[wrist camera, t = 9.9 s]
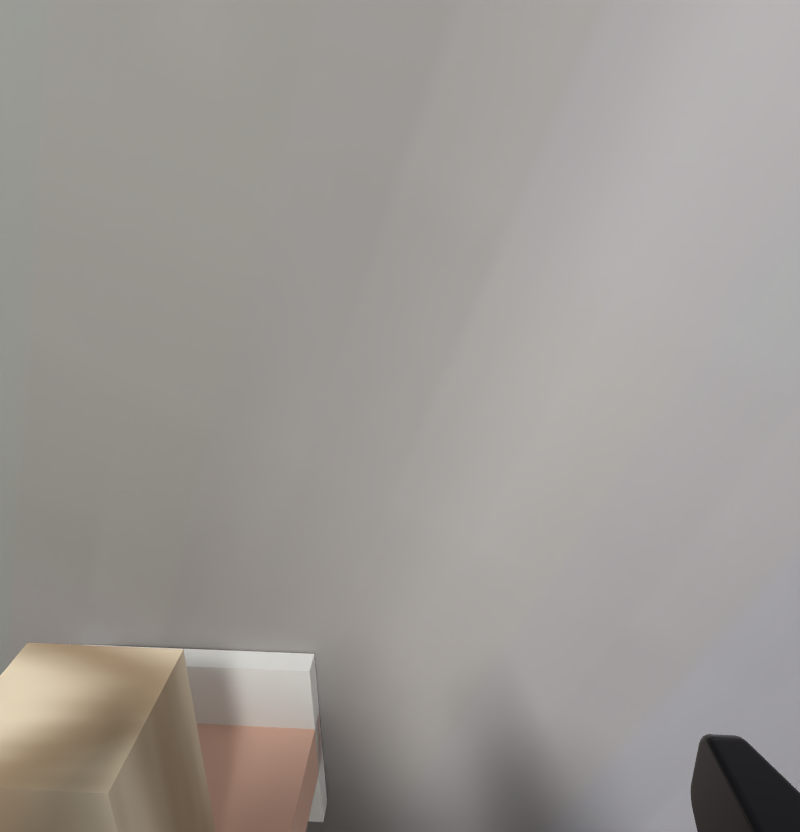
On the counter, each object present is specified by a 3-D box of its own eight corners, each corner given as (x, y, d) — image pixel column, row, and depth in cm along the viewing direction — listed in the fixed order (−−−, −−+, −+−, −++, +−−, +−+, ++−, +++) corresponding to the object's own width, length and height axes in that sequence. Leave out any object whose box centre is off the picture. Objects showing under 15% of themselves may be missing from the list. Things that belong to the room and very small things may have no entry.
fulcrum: (314, 653, 23) (278, 784, 19) (327, 802, 26) (298, 948, 21) (83, 645, 24) (-6, 768, 19) (119, 790, 27) (48, 929, 22)
